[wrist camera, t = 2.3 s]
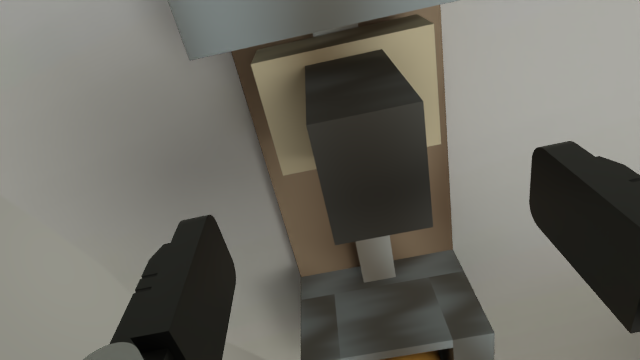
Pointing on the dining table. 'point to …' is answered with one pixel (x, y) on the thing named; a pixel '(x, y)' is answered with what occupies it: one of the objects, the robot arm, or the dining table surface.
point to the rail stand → (311, 215)
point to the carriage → (358, 121)
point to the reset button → (418, 356)
